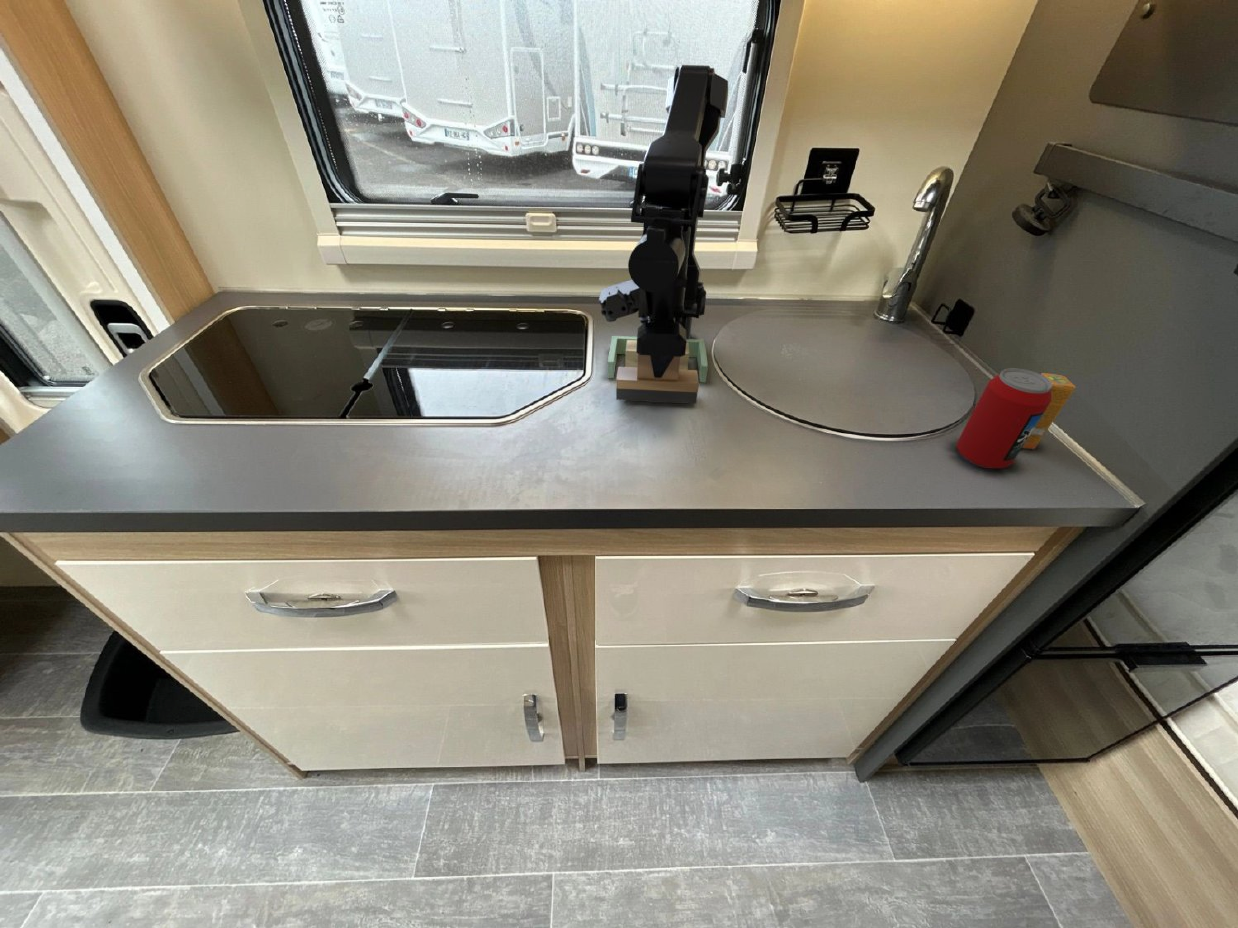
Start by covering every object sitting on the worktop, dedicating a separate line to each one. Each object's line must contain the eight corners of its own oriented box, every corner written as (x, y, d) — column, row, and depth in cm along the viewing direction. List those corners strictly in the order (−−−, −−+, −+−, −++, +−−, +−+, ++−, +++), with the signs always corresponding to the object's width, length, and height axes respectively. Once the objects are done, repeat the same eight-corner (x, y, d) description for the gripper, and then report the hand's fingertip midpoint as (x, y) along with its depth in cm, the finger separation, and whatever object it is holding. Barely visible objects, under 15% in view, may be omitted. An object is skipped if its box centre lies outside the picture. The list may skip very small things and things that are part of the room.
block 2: (662, 362, 90) (664, 341, 87) (686, 363, 90) (688, 342, 87) (662, 374, 87) (664, 352, 84) (687, 375, 87) (689, 353, 84)
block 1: (626, 361, 90) (626, 339, 88) (649, 362, 90) (650, 340, 88) (625, 372, 87) (625, 350, 85) (649, 373, 87) (650, 351, 84)
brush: (617, 386, 82) (618, 342, 77) (694, 390, 81) (700, 345, 77) (616, 400, 79) (616, 354, 74) (696, 403, 78) (701, 358, 74)
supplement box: (1037, 450, 72) (1079, 387, 66) (1010, 447, 72) (1049, 384, 66) (1027, 436, 74) (1066, 374, 68) (1001, 433, 75) (1037, 371, 69)
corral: (612, 351, 93) (612, 335, 91) (702, 355, 92) (704, 339, 90) (607, 378, 86) (607, 361, 84) (705, 382, 85) (708, 366, 83)
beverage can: (1018, 476, 68) (1070, 396, 60) (961, 469, 69) (1005, 389, 61) (999, 445, 73) (1045, 368, 65) (947, 439, 74) (986, 362, 66)
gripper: (609, 241, 75) (608, 341, 85) (595, 288, 61) (597, 402, 71) (686, 244, 75) (677, 344, 85) (692, 292, 60) (680, 406, 70)
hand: (657, 371), depth 78 cm, fingers closed on brush, 3 cm apart
